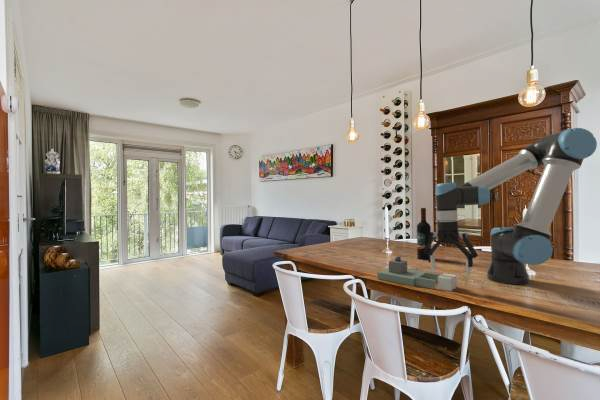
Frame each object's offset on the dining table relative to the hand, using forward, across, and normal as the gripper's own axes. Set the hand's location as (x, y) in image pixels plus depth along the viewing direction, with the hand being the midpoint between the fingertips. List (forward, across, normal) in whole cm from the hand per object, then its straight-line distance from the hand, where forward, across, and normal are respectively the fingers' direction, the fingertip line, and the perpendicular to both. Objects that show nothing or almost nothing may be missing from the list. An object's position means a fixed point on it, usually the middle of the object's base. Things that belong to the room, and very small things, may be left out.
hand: (450, 272), depth 122 cm
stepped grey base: (+6, +17, +1) cm, 18 cm away
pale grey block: (+6, +1, +1) cm, 7 cm away
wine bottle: (+7, +31, -47) cm, 57 cm away
